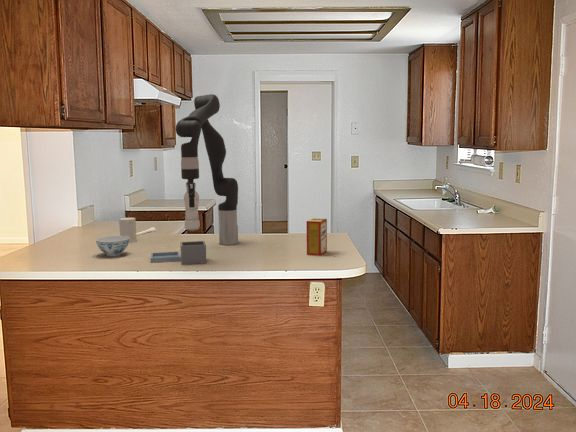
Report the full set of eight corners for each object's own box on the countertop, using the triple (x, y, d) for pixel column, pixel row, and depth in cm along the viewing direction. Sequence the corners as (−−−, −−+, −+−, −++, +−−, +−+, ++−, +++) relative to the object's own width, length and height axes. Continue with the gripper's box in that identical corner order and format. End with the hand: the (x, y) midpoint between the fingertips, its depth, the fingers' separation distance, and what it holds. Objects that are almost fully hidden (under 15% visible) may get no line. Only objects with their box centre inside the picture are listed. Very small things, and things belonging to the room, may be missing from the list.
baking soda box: (320, 255, 266) (320, 220, 263) (306, 254, 268) (306, 220, 266) (326, 251, 274) (326, 217, 272) (313, 250, 277) (313, 217, 274)
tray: (179, 255, 270) (179, 251, 270) (180, 261, 259) (179, 256, 258) (151, 257, 267) (151, 252, 267) (150, 262, 256) (150, 258, 256)
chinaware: (95, 253, 277) (94, 237, 276) (127, 250, 283) (127, 234, 282) (98, 259, 264) (97, 242, 263) (132, 256, 270) (131, 239, 269)
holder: (204, 258, 263) (204, 240, 262) (206, 263, 254) (205, 244, 253) (180, 259, 261) (180, 242, 260) (181, 264, 252) (180, 246, 251)
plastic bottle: (185, 229, 259) (183, 184, 256) (200, 229, 259) (199, 183, 256) (184, 232, 252) (182, 185, 249) (199, 231, 253) (198, 185, 250)
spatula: (127, 240, 312) (127, 235, 311) (121, 240, 313) (121, 234, 313) (157, 231, 337) (157, 226, 337) (151, 231, 339) (151, 226, 338)
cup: (132, 243, 302) (131, 220, 300) (117, 242, 303) (116, 219, 302) (139, 240, 310) (138, 217, 308) (125, 239, 311) (123, 217, 310)
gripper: (199, 168, 245) (201, 208, 248) (197, 166, 259) (199, 204, 262) (181, 169, 244) (183, 209, 246) (180, 166, 258) (182, 204, 260)
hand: (191, 206), depth 254 cm, fingers closed on plastic bottle, 6 cm apart
